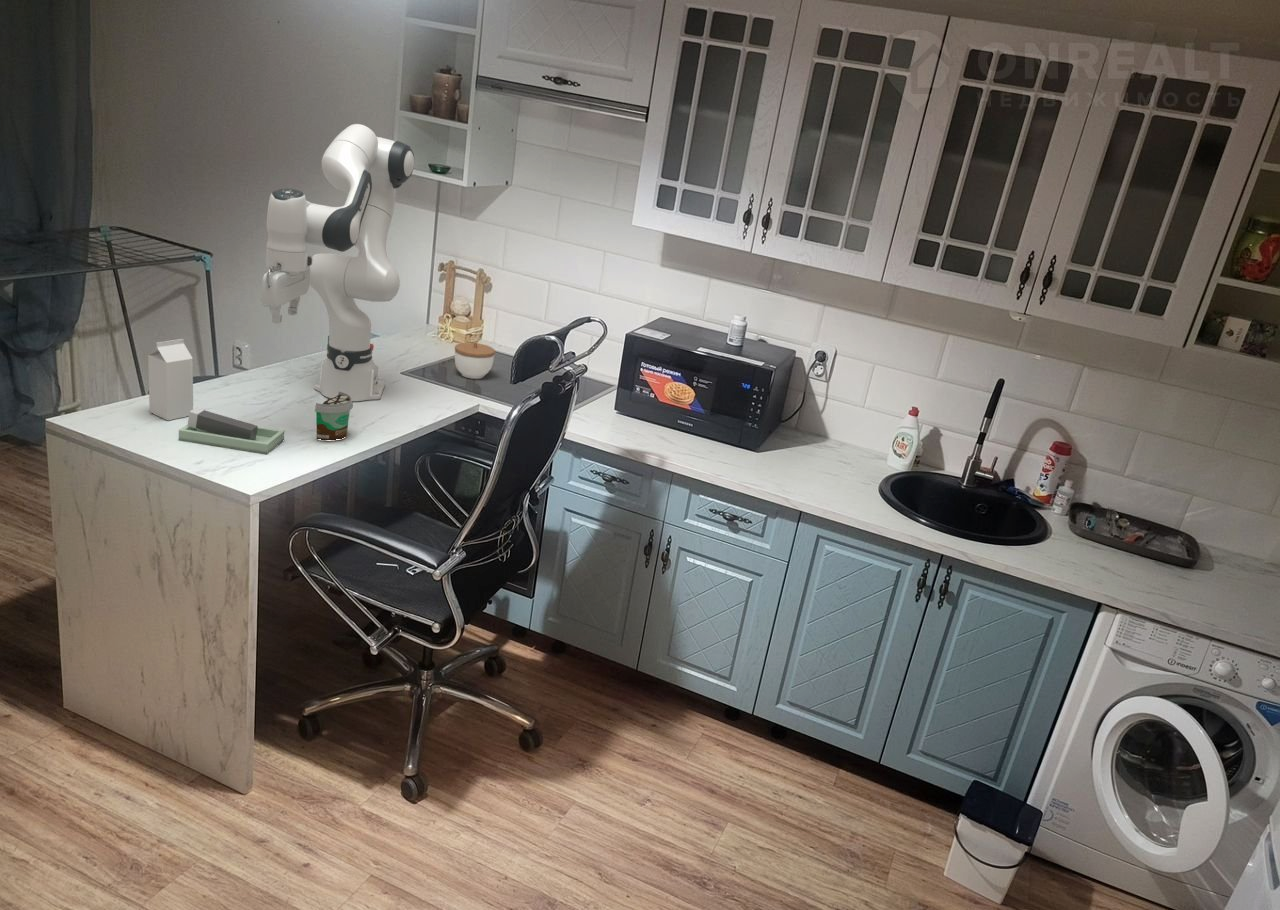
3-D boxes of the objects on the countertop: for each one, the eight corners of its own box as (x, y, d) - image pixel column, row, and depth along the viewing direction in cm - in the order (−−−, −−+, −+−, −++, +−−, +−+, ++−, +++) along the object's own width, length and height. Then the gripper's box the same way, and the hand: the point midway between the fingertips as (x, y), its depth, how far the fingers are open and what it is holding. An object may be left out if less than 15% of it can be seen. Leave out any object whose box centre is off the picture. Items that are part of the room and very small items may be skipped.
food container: (336, 447, 235) (338, 408, 231) (313, 441, 235) (315, 403, 232) (360, 432, 246) (362, 395, 242) (338, 427, 247) (339, 390, 243)
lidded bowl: (445, 371, 306) (447, 337, 303) (478, 368, 315) (481, 335, 311) (466, 383, 298) (469, 349, 294) (499, 379, 307) (503, 346, 303)
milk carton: (193, 415, 239) (192, 342, 233) (167, 421, 233) (165, 346, 227) (175, 407, 242) (174, 335, 236) (149, 413, 236) (147, 339, 230)
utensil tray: (199, 426, 233) (199, 417, 232) (284, 440, 233) (284, 430, 232) (178, 440, 224) (178, 430, 223) (267, 454, 224) (267, 444, 223)
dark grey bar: (255, 438, 230) (258, 424, 229) (249, 443, 226) (251, 429, 225) (195, 421, 229) (197, 407, 228) (187, 426, 226) (189, 411, 225)
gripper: (281, 270, 213) (280, 330, 218) (315, 256, 232) (313, 312, 237) (253, 265, 213) (253, 325, 218) (289, 252, 232) (288, 308, 237)
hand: (284, 318), depth 228 cm, fingers open, 8 cm apart
